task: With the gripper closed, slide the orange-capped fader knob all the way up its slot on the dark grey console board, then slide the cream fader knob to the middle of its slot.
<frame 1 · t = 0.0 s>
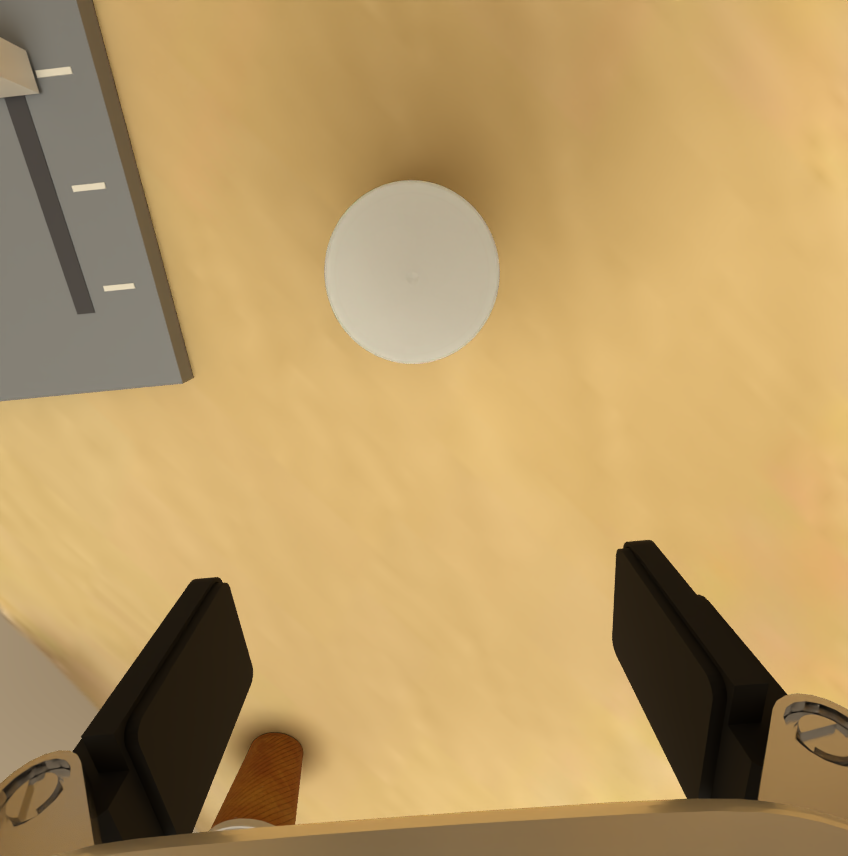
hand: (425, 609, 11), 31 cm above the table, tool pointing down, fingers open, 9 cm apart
supplement tub: (413, 270, 39), on the table
console: (7, 216, 37), on the table
disposable coffee cup: (277, 749, 57), on the table
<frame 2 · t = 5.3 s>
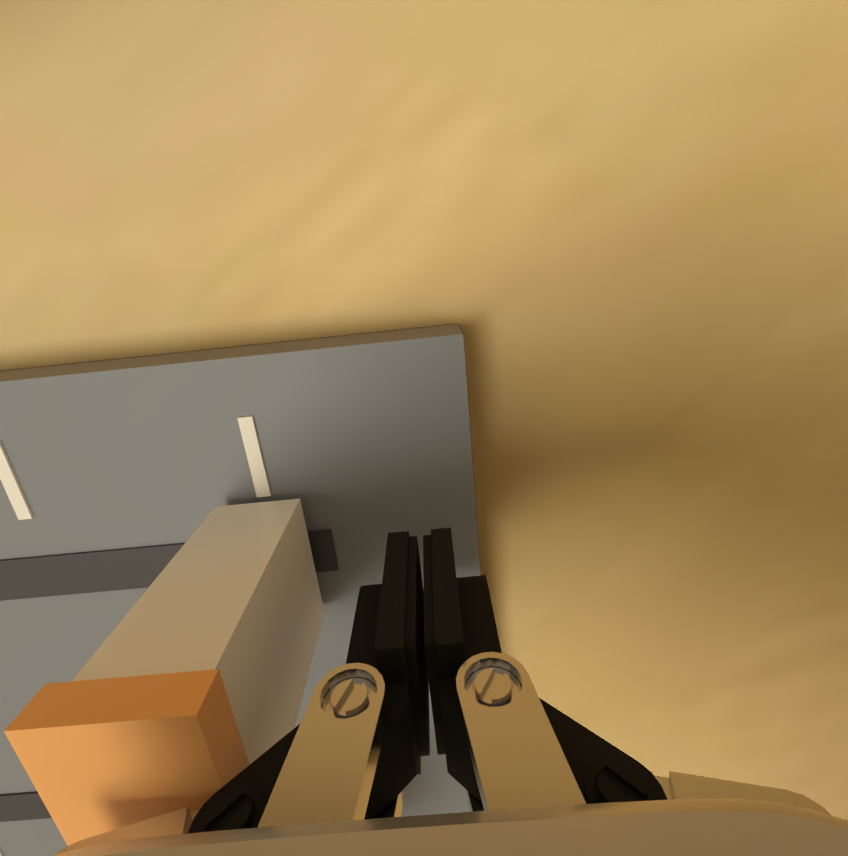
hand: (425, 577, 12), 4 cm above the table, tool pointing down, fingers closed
console: (113, 653, 18), on the table
fader orange: (228, 654, 11), point 6 cm above the table, slide at 0.1 cm, touching gripper
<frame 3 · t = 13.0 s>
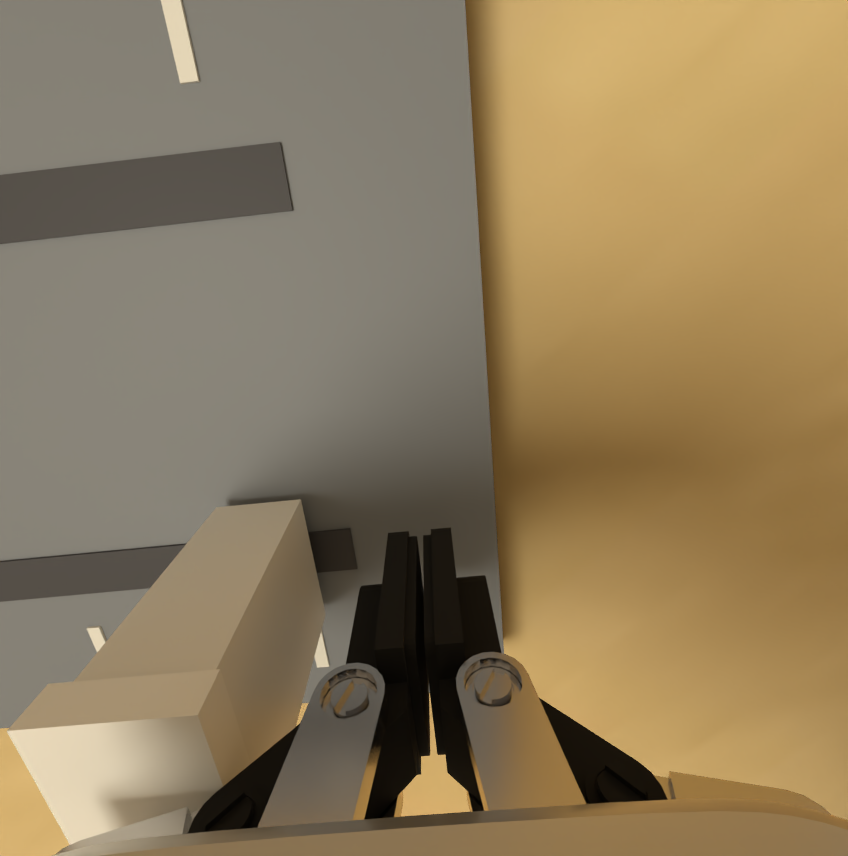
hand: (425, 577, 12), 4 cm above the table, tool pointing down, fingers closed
console: (28, 402, 15), on the table
fader cream: (229, 654, 11), point 6 cm above the table, slide at 0.6 cm, touching gripper
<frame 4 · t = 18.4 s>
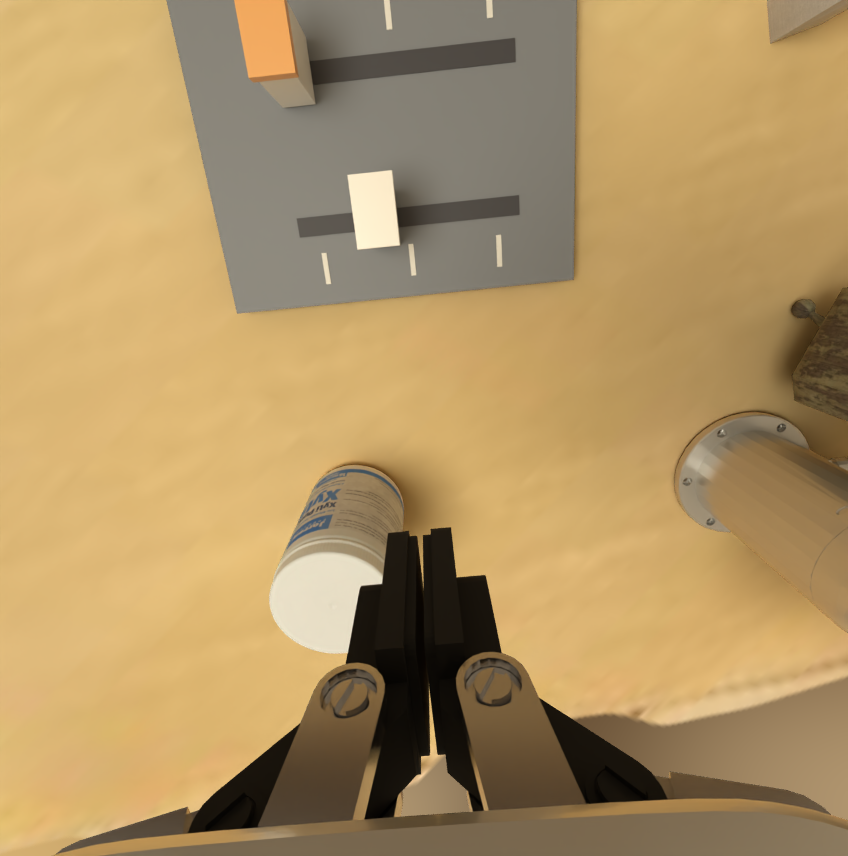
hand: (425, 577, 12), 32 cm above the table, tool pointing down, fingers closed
supplement tub: (358, 504, 48), on the table
console: (389, 151, 37), on the table
fader cream: (378, 215, 34), point 6 cm above the table, slide at 9.0 cm
fader orange: (280, 53, 30), point 6 cm above the table, slide at 14.0 cm
tabletop clock: (828, 354, 43), on the table
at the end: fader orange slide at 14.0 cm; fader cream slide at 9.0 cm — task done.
